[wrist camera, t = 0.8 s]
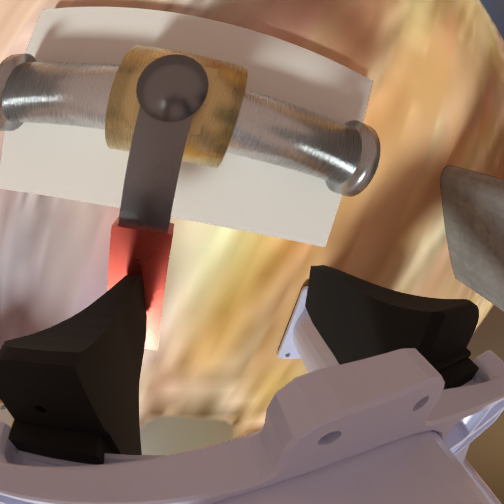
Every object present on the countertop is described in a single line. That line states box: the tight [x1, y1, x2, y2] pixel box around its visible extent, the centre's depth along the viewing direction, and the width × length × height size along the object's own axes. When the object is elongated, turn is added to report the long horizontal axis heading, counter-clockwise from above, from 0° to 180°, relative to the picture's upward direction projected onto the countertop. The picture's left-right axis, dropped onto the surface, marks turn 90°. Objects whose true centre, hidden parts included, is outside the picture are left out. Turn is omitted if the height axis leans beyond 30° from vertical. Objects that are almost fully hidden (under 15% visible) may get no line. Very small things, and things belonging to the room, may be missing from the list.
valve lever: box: [108, 54, 209, 350], centre depth 11 cm, size 12×3×2 cm, turn 165°
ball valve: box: [0, 45, 380, 197], centre depth 14 cm, size 24×6×7 cm, turn 75°
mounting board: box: [0, 7, 373, 247], centre depth 17 cm, size 26×14×2 cm, turn 75°
